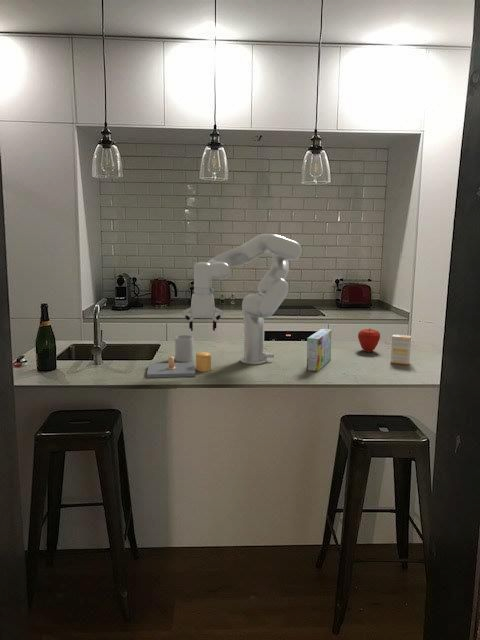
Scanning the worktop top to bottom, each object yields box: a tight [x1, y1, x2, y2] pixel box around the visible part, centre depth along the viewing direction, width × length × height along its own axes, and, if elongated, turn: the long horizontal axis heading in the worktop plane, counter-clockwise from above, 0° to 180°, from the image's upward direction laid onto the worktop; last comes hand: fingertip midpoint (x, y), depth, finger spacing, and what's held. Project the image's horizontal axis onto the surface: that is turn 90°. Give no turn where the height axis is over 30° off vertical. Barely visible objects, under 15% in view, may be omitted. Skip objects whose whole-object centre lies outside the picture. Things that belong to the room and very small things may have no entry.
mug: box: [174, 334, 194, 363], centre depth 236 cm, size 12×8×11 cm
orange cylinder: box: [195, 351, 212, 372], centre depth 220 cm, size 6×6×7 cm
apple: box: [357, 328, 381, 353], centre depth 253 cm, size 11×11×12 cm
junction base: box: [146, 355, 196, 379], centre depth 216 cm, size 20×16×6 cm
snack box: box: [306, 328, 332, 372], centre depth 227 cm, size 21×6×15 cm, turn 154°
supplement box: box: [390, 333, 412, 366], centre depth 232 cm, size 8×5×13 cm, turn 65°
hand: (202, 330), depth 217 cm, fingers open, 9 cm apart
